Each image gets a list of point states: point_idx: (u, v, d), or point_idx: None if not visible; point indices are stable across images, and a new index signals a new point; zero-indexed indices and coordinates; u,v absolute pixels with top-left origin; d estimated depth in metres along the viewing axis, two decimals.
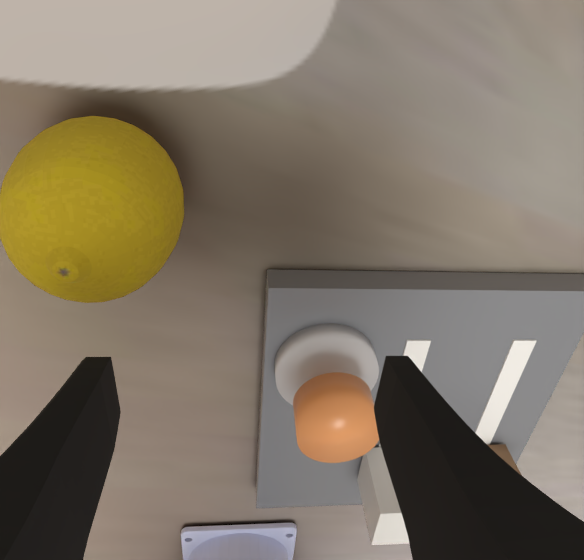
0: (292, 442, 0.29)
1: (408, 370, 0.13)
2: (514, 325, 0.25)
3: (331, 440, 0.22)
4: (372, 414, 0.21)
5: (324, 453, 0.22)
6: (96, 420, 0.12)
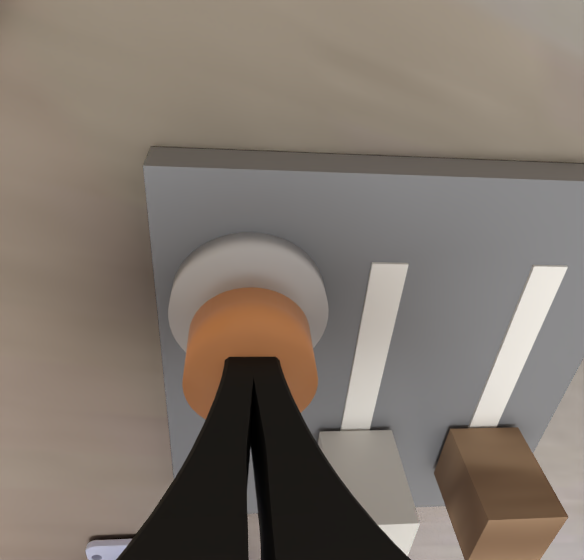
0: None
1: (267, 371, 0.12)
2: (535, 241, 0.16)
3: None
4: (301, 347, 0.13)
5: None
6: None
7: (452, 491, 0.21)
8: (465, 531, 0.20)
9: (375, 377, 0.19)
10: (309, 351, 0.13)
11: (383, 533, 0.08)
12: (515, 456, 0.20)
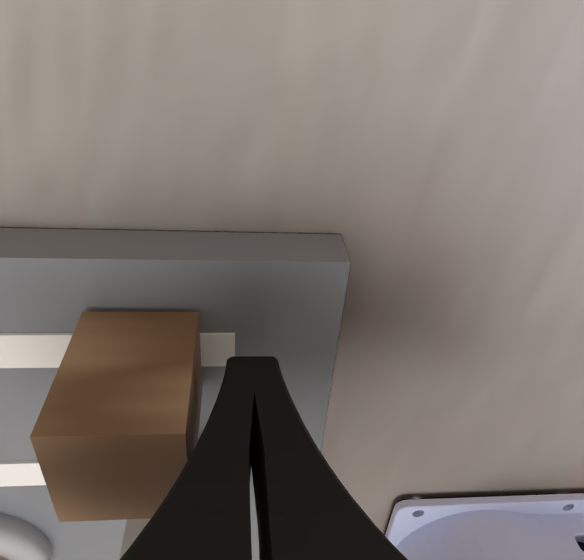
0: None
1: (266, 371, 0.12)
2: None
3: None
4: None
5: None
6: (252, 417, 0.12)
7: None
8: None
9: None
10: None
11: (380, 533, 0.08)
12: None
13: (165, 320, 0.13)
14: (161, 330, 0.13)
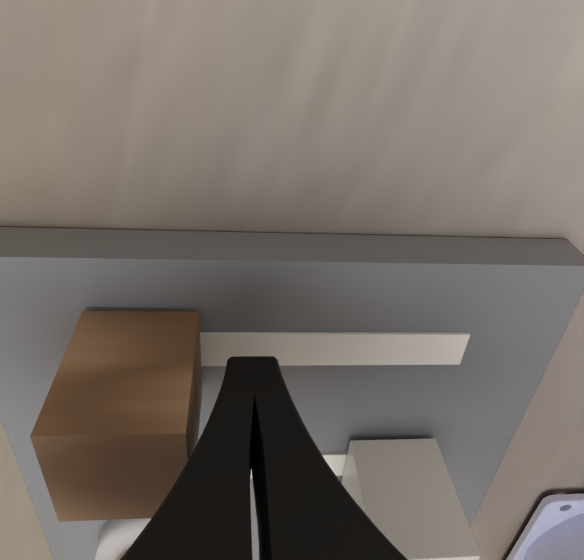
0: None
1: (265, 371, 0.12)
2: None
3: None
4: None
5: None
6: (253, 417, 0.12)
7: None
8: None
9: None
10: None
11: (380, 533, 0.08)
12: None
13: (165, 319, 0.13)
14: (161, 330, 0.13)
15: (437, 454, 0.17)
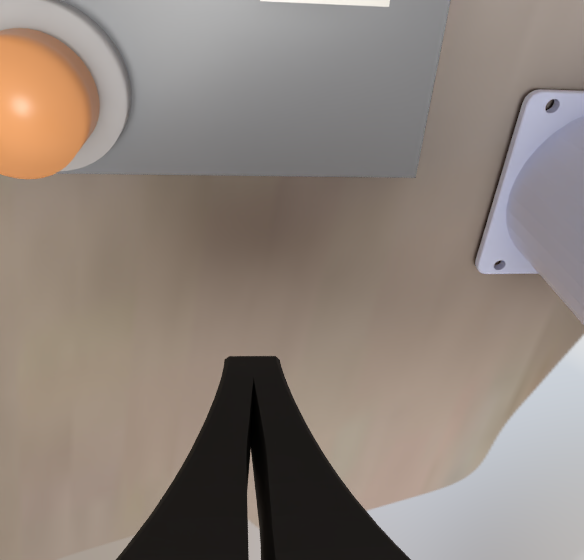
0: (245, 126, 0.17)
1: (267, 371, 0.12)
2: None
3: (22, 126, 0.14)
4: None
5: (58, 134, 0.14)
6: None
7: None
8: None
9: None
10: None
11: (383, 533, 0.08)
12: None
13: None
14: None
15: None
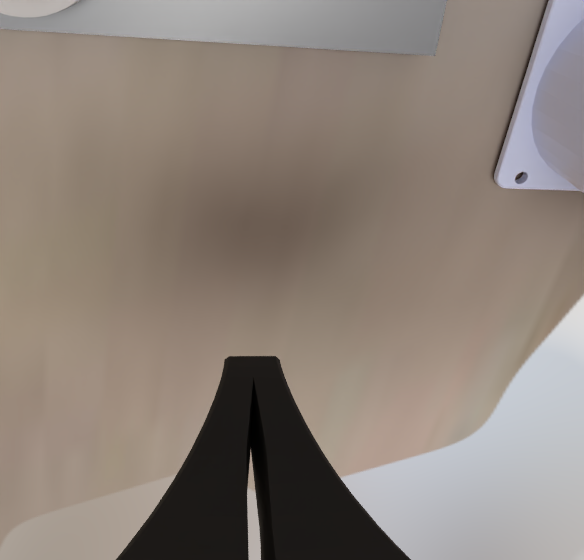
0: None
1: (267, 371, 0.12)
2: None
3: None
4: None
5: None
6: None
7: None
8: None
9: None
10: None
11: (383, 533, 0.08)
12: None
13: None
14: None
15: None
